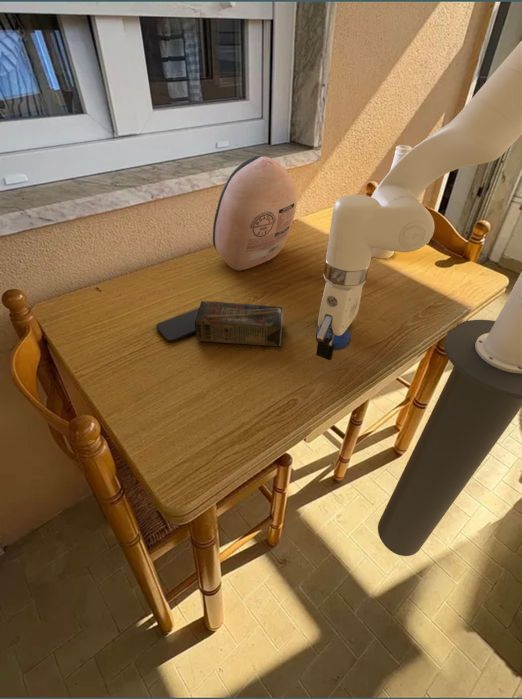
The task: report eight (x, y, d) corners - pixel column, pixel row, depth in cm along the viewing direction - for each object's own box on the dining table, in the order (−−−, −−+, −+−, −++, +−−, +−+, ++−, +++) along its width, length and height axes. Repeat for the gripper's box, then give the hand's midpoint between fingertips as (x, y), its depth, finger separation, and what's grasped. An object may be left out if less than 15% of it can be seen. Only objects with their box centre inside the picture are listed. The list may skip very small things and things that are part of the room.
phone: (226, 318, 91) (168, 341, 84) (226, 320, 91) (169, 344, 84) (210, 303, 95) (154, 324, 88) (210, 306, 96) (155, 327, 89)
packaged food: (262, 241, 123) (264, 138, 104) (304, 265, 112) (315, 154, 92) (205, 261, 113) (195, 151, 93) (245, 290, 102) (243, 171, 82)
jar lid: (331, 324, 81) (333, 318, 80) (357, 341, 77) (358, 335, 76) (308, 337, 78) (309, 331, 77) (333, 355, 74) (334, 349, 73)
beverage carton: (281, 348, 84) (282, 325, 79) (195, 343, 85) (192, 319, 80) (282, 326, 90) (283, 303, 85) (201, 321, 91) (199, 298, 86)
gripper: (347, 300, 60) (331, 379, 72) (382, 256, 71) (363, 330, 83) (304, 286, 63) (295, 364, 74) (344, 246, 74) (331, 319, 86)
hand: (331, 346), depth 79 cm, fingers closed on jar lid, 6 cm apart
